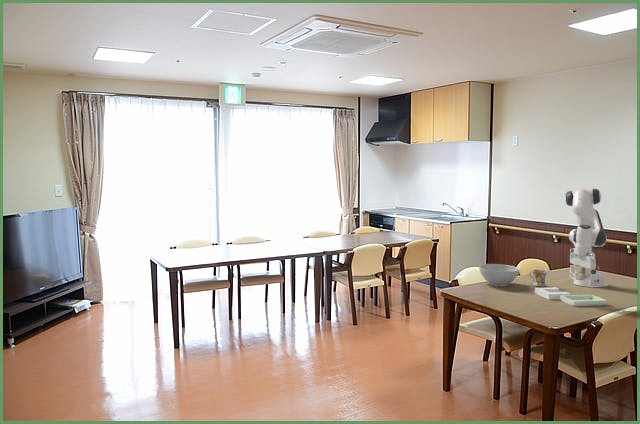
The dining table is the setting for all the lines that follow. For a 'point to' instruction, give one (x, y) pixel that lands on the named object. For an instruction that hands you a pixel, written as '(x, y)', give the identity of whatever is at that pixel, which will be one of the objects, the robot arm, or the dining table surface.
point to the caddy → (580, 273)
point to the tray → (583, 300)
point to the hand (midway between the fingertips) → (581, 273)
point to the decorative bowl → (498, 274)
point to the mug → (539, 278)
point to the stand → (550, 293)
